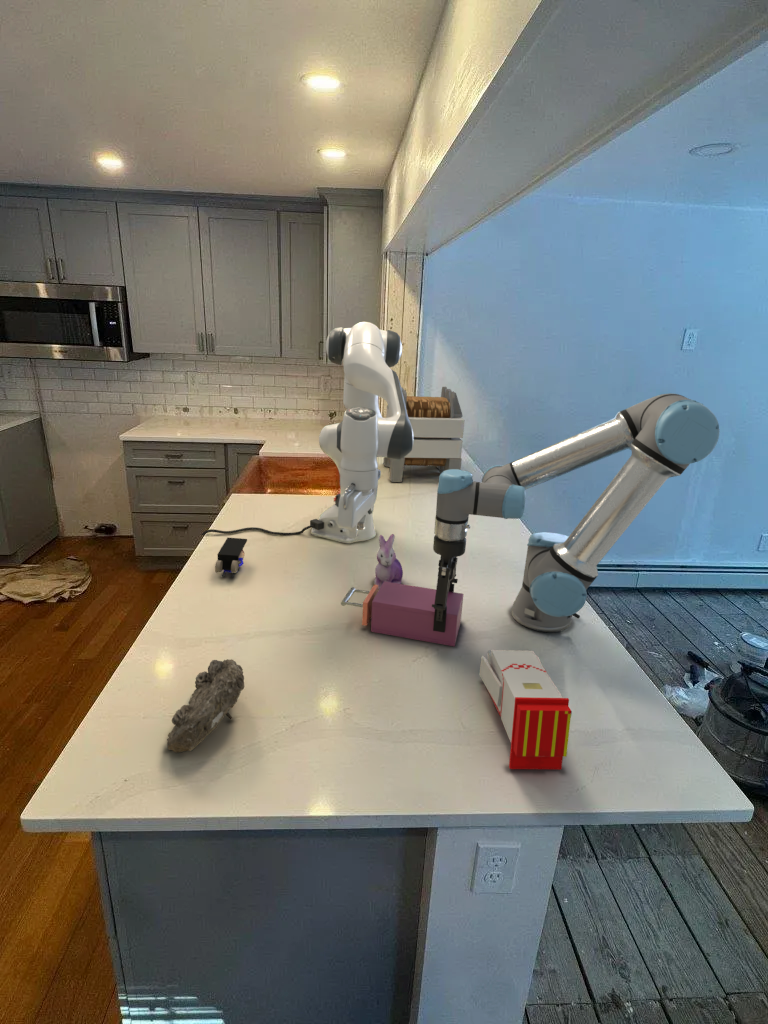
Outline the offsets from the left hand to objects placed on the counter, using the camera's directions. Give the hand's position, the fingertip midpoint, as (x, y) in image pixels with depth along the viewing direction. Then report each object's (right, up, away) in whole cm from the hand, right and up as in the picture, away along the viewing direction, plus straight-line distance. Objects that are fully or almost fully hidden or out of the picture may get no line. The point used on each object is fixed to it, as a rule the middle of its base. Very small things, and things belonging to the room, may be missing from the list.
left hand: (357, 533), depth 138 cm
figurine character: (-38, -12, +30) cm, 50 cm away
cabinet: (+15, -24, +4) cm, 28 cm away
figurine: (+8, -16, +25) cm, 31 cm away
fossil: (-26, -34, -30) cm, 52 cm away
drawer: (+9, -22, +5) cm, 24 cm away
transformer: (+24, +24, +137) cm, 141 cm away
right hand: (+21, -21, +1) cm, 30 cm away
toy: (+32, -35, -26) cm, 55 cm away
